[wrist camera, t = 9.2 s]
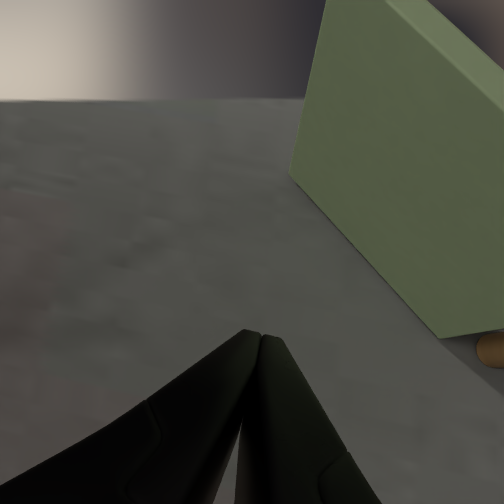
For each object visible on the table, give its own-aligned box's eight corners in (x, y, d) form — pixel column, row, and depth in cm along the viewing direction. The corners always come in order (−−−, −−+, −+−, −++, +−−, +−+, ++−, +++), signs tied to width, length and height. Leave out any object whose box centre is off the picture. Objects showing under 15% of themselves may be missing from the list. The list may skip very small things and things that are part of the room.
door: (450, 329, 22) (728, 272, 9) (438, 339, 22) (704, 297, 9) (299, 164, 24) (359, -64, 11) (287, 173, 24) (335, -48, 11)
